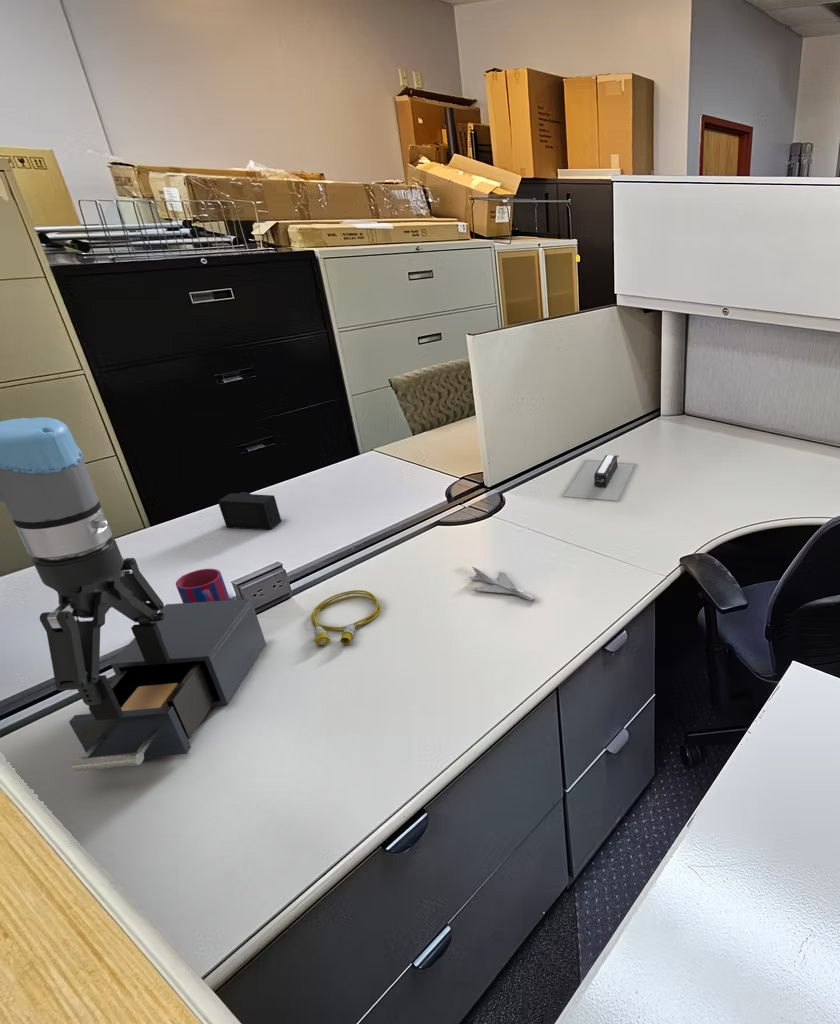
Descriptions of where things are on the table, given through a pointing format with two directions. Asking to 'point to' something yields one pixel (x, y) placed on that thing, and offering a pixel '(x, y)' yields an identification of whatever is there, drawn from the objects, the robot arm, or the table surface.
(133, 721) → the drawer
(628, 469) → the bus
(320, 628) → the extension cord
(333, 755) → the table surface
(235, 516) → the digital camera
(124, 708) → the block
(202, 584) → the mug
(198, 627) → the cabinet
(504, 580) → the toy airplane
